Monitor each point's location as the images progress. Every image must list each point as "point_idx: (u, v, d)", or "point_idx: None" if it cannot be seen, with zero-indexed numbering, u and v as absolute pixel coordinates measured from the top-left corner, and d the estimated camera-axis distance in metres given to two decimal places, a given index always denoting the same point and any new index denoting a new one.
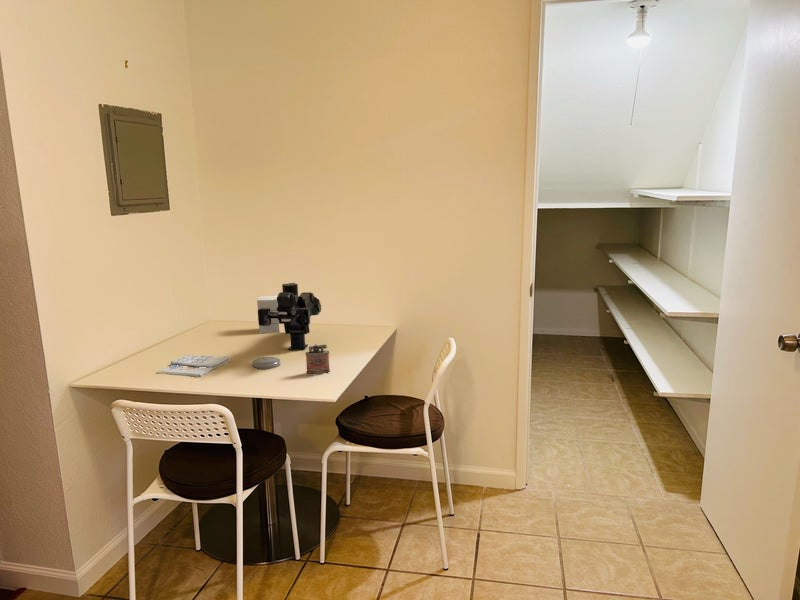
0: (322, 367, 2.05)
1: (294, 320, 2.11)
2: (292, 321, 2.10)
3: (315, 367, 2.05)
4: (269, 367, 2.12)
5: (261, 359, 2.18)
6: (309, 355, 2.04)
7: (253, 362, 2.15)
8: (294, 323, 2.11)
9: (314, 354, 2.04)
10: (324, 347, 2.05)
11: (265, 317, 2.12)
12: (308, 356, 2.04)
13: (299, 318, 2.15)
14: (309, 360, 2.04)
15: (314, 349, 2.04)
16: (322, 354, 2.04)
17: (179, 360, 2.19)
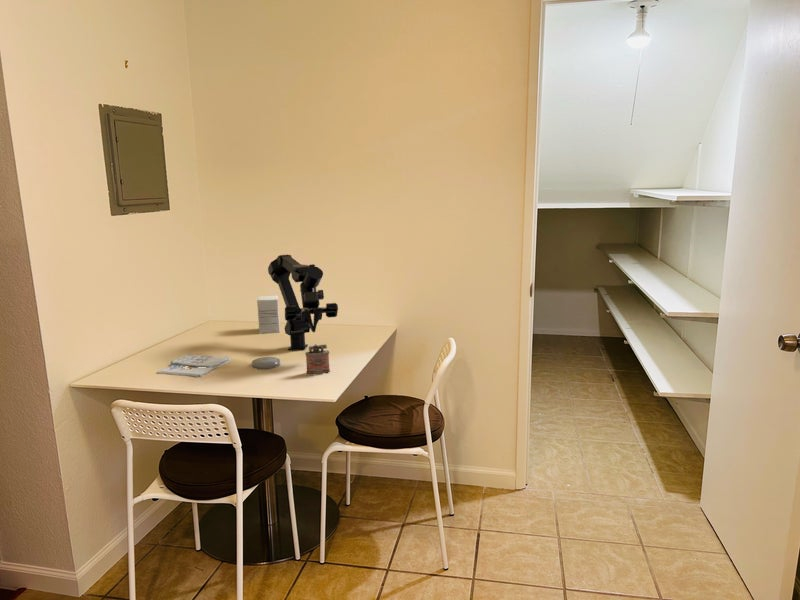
0: (322, 367, 2.05)
1: (316, 325, 2.12)
2: (315, 328, 2.12)
3: (315, 367, 2.05)
4: (269, 367, 2.12)
5: (261, 359, 2.18)
6: (309, 355, 2.04)
7: (253, 362, 2.15)
8: None
9: (314, 354, 2.04)
10: (324, 347, 2.05)
11: (311, 323, 2.12)
12: (308, 356, 2.04)
13: None
14: (309, 360, 2.04)
15: (314, 349, 2.04)
16: (322, 354, 2.04)
17: (179, 360, 2.19)
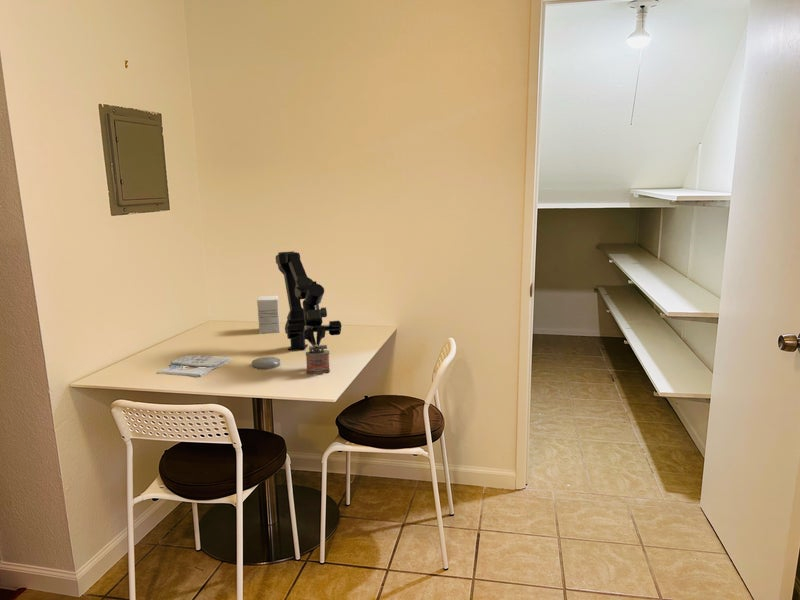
0: (322, 367, 2.05)
1: (319, 344, 2.08)
2: None
3: (315, 367, 2.04)
4: (269, 367, 2.12)
5: (261, 359, 2.18)
6: (309, 355, 2.03)
7: (253, 362, 2.15)
8: None
9: (314, 354, 2.03)
10: (324, 347, 2.04)
11: (314, 341, 2.07)
12: (308, 356, 2.03)
13: None
14: (309, 360, 2.04)
15: (314, 349, 2.03)
16: (322, 354, 2.04)
17: (179, 360, 2.19)
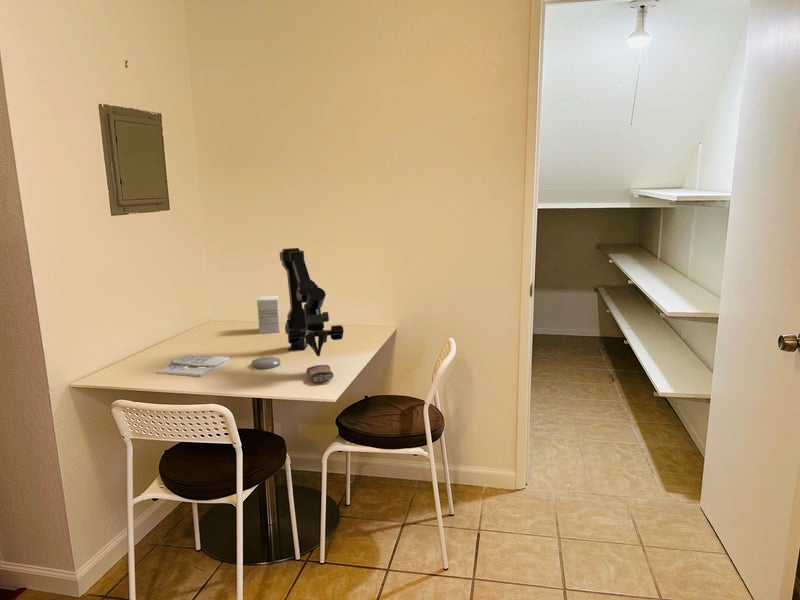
0: None
1: (320, 349, 2.03)
2: (320, 352, 2.03)
3: None
4: (269, 367, 2.12)
5: (261, 359, 2.18)
6: None
7: (253, 362, 2.15)
8: (320, 351, 2.04)
9: (318, 381, 1.98)
10: None
11: (315, 346, 2.03)
12: None
13: None
14: None
15: None
16: None
17: (179, 360, 2.19)
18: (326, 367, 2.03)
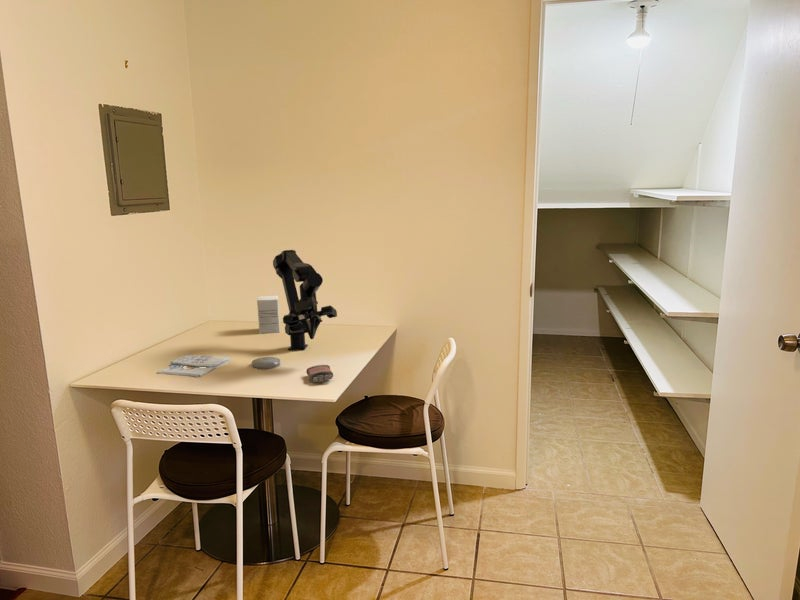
0: None
1: (313, 331, 2.12)
2: (313, 335, 2.12)
3: None
4: (269, 367, 2.12)
5: (261, 359, 2.18)
6: None
7: (253, 362, 2.15)
8: None
9: (318, 381, 1.98)
10: None
11: (308, 330, 2.12)
12: None
13: (315, 320, 2.14)
14: None
15: None
16: None
17: (179, 360, 2.19)
18: (326, 367, 2.03)
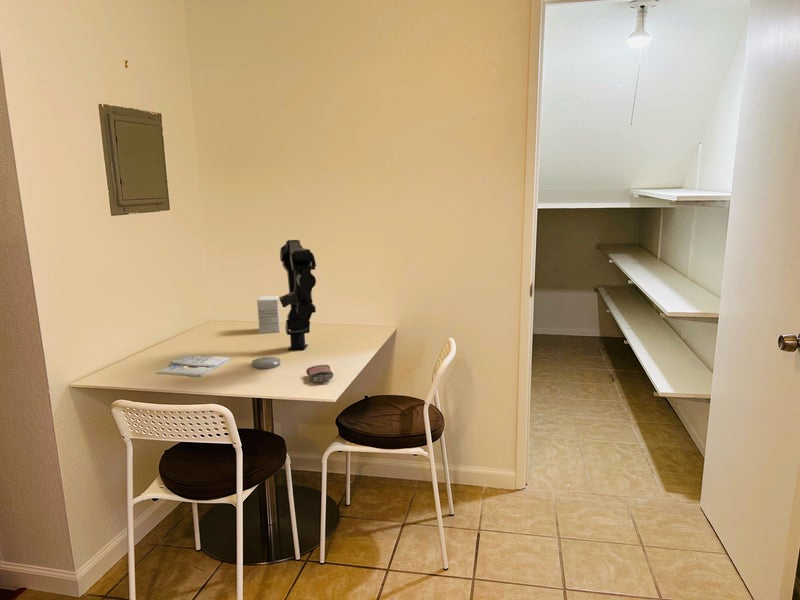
0: None
1: (304, 322, 2.15)
2: (304, 325, 2.16)
3: None
4: (269, 367, 2.12)
5: (261, 359, 2.18)
6: None
7: (253, 362, 2.15)
8: (307, 322, 2.15)
9: (318, 381, 1.98)
10: None
11: (301, 319, 2.16)
12: None
13: None
14: None
15: None
16: None
17: (179, 360, 2.19)
18: (326, 367, 2.03)
